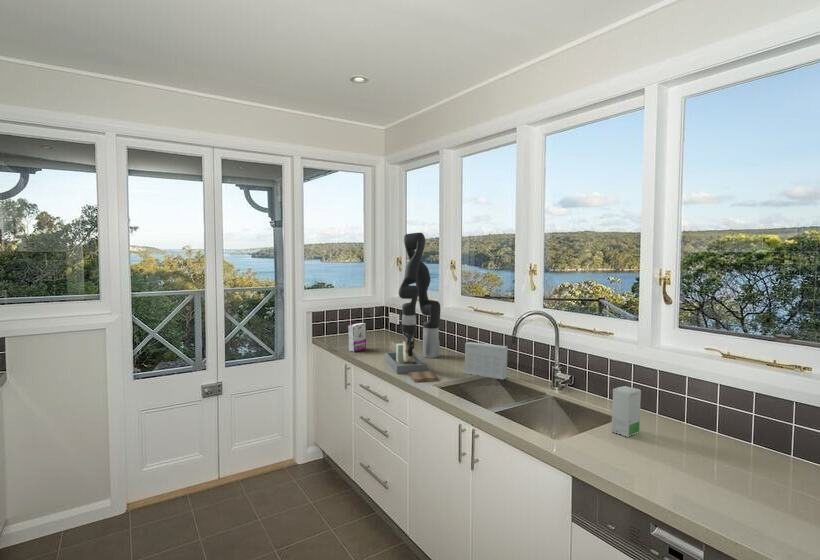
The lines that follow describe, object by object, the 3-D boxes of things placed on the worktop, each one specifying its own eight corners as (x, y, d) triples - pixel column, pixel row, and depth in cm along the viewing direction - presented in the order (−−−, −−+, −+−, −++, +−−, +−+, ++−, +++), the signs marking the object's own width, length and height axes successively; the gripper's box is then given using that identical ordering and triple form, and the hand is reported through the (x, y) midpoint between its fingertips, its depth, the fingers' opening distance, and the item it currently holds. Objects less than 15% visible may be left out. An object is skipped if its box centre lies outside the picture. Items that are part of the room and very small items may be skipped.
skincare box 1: (507, 377, 228) (508, 346, 227) (503, 380, 224) (504, 348, 223) (468, 371, 239) (468, 341, 238) (463, 373, 234) (464, 343, 233)
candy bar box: (360, 348, 291) (360, 322, 290) (366, 349, 288) (366, 323, 287) (348, 351, 282) (347, 324, 281) (353, 352, 279) (353, 325, 278)
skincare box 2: (627, 438, 156) (629, 393, 155) (609, 431, 162) (611, 388, 161) (640, 432, 161) (642, 389, 160) (622, 426, 167) (624, 384, 166)
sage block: (404, 360, 260) (404, 343, 260) (406, 362, 255) (406, 345, 255) (396, 361, 259) (396, 343, 258) (398, 363, 254) (398, 345, 253)
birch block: (412, 358, 246) (412, 340, 245) (414, 361, 241) (415, 342, 240) (403, 359, 244) (403, 340, 243) (405, 361, 239) (405, 342, 239)
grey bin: (411, 358, 266) (411, 351, 266) (426, 371, 237) (426, 364, 237) (384, 359, 262) (384, 352, 262) (396, 373, 233) (396, 366, 233)
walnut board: (430, 373, 233) (431, 370, 233) (438, 380, 222) (438, 377, 222) (408, 375, 230) (408, 372, 230) (414, 382, 219) (414, 379, 219)
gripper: (419, 325, 235) (419, 357, 236) (412, 320, 249) (412, 351, 250) (405, 325, 233) (405, 358, 234) (398, 321, 247) (398, 352, 248)
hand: (408, 354), depth 242 cm, fingers closed on birch block, 5 cm apart
